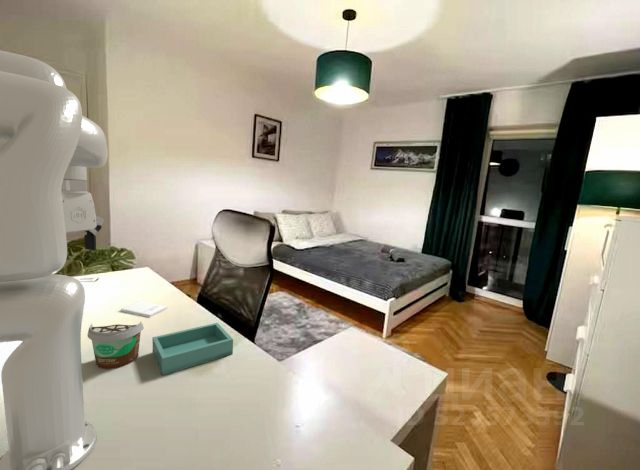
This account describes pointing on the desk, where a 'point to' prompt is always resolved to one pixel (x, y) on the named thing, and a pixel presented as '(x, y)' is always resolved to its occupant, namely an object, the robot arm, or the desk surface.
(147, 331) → the desk surface
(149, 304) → the external hard drive
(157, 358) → the bin
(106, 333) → the food container
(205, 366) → the desk surface
